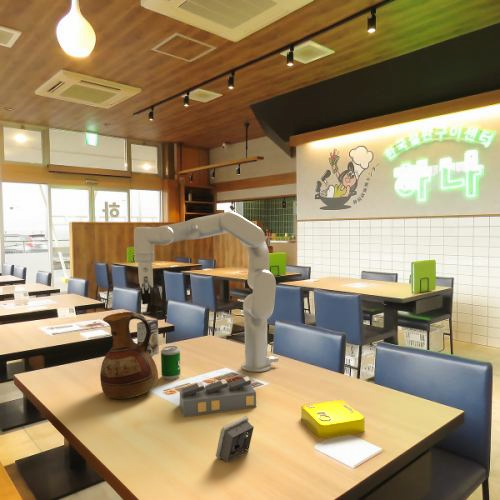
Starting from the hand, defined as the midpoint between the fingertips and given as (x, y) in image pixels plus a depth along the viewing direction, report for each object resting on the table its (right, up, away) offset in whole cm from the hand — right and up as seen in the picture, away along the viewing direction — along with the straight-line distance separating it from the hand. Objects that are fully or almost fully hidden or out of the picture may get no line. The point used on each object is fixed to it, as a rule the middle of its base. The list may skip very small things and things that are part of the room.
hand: (145, 301), depth 167 cm
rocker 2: (+30, -26, -24) cm, 47 cm away
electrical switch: (+37, -34, -55) cm, 75 cm away
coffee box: (-8, -30, +36) cm, 47 cm away
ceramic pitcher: (-3, -32, -12) cm, 34 cm away
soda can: (+9, -31, +4) cm, 33 cm away
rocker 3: (+38, -26, -22) cm, 51 cm away
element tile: (+66, -33, -39) cm, 83 cm away
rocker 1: (+22, -26, -27) cm, 44 cm away
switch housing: (+30, -32, -24) cm, 50 cm away
